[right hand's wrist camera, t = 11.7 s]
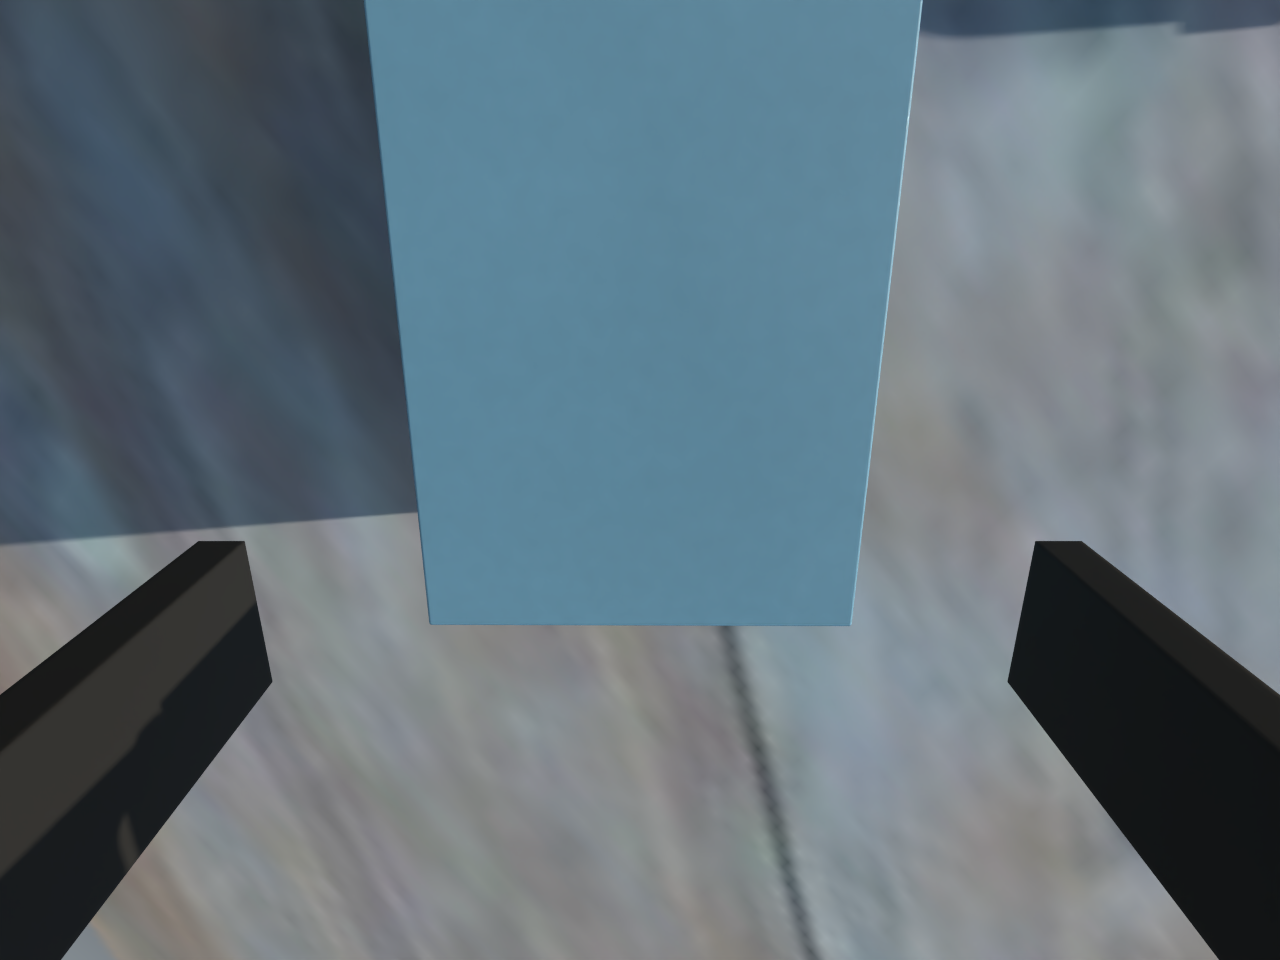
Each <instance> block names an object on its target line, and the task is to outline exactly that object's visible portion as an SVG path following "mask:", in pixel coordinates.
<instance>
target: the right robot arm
mask: <svg viewBox="0 0 1280 960" xmlns="http://www.w3.org/2000/svg"><path fill="white" fill-rule="evenodd" d="M271 683H272V677H271V672H270V667H269V662H268V657H267V652H266V647H265V642H264V637H263V632H262V627H261V622H260V617H259V611H258V606H257V601H256V596H255V591H254V586H253V581H252V576H251V571H250V566H249V561H248V556H247V551H246V546H245V541H198V542H197V543H195V544H194V545H193V546H192V547H190V548H189V549H188V550H186V551H185V552H184V553H183V554H181V555H180V556H179V557H177V558H176V559H175V560H174V561H172V562H171V563H170V564H168V565H167V566H166V567H165V568H163V569H162V570H161V571H159V572H158V573H157V574H156V575H154V576H153V577H152V578H150V579H149V580H148V581H146V582H145V583H144V584H143V585H141V586H140V587H139V588H137V589H136V590H135V591H134V592H132V593H131V594H130V595H128V596H127V597H126V598H125V599H123V600H122V601H121V602H119V603H118V604H117V605H116V606H114V607H113V608H112V609H110V610H109V611H108V612H107V613H105V614H104V615H103V616H101V617H100V618H99V619H97V620H96V621H95V622H94V623H92V624H91V625H90V626H88V627H87V628H86V629H85V630H83V631H82V632H81V633H79V634H78V635H77V636H76V637H74V638H73V639H72V640H70V641H69V642H68V643H67V644H65V645H64V646H63V647H61V648H60V649H59V650H58V651H56V652H55V653H54V654H52V655H51V656H50V657H48V658H47V659H46V660H45V661H43V662H42V663H41V664H39V665H38V666H37V667H36V668H34V669H33V670H32V671H30V672H29V673H28V674H27V675H25V676H24V677H23V678H21V679H20V680H19V681H18V682H16V683H15V684H14V685H12V686H11V687H10V688H9V689H7V690H6V691H5V692H3V693H2V694H1V695H0V960H61V959H62V958H63V956H64V955H65V954H66V952H67V951H68V950H69V948H70V947H71V946H72V944H73V943H74V942H75V941H76V939H77V938H78V937H79V935H80V934H81V933H82V931H83V930H84V929H85V927H86V926H87V925H88V923H89V922H90V921H91V919H92V918H93V917H94V916H95V914H96V913H97V912H98V910H99V909H100V908H101V906H102V905H103V904H104V902H105V901H106V900H107V898H108V897H109V896H110V895H111V893H112V892H113V891H114V889H115V888H116V887H117V885H118V884H119V883H120V881H121V880H122V879H123V877H124V876H125V875H126V874H127V872H128V871H129V870H130V868H131V867H132V866H133V864H134V863H135V862H136V860H137V859H138V858H139V856H140V855H141V854H142V852H143V851H144V850H145V849H146V847H147V846H148V845H149V843H150V842H151V841H152V839H153V838H154V837H155V835H156V834H157V833H158V831H159V830H160V829H161V828H162V826H163V825H164V824H165V822H166V821H167V820H168V818H169V817H170V816H171V814H172V813H173V812H174V810H175V809H176V808H177V806H178V805H179V804H180V803H181V801H182V800H183V799H184V797H185V796H186V795H187V793H188V792H189V791H190V789H191V788H192V787H193V785H194V784H195V783H196V782H197V780H198V779H199V778H200V776H201V775H202V774H203V772H204V771H205V770H206V768H207V767H208V766H209V764H210V763H211V762H212V760H213V759H214V758H215V757H216V755H217V754H218V753H219V751H220V750H221V749H222V747H223V746H224V745H225V743H226V742H227V741H228V739H229V738H230V737H231V736H232V734H233V733H234V732H235V730H236V729H237V728H238V726H239V725H240V724H241V722H242V721H243V720H244V718H245V717H246V716H247V715H248V713H249V712H250V711H251V709H252V708H253V707H254V705H255V704H256V703H257V701H258V700H259V699H260V697H261V696H262V695H263V693H264V692H265V691H266V690H267V688H268V687H269V686H270V684H271ZM1008 683H1009V684H1010V686H1011V687H1012V688H1013V690H1014V691H1015V692H1016V693H1017V695H1018V696H1019V697H1020V699H1021V700H1022V701H1023V703H1024V704H1025V705H1026V707H1027V708H1028V709H1029V711H1030V712H1031V713H1032V715H1033V716H1034V717H1035V718H1036V720H1037V721H1038V722H1039V724H1040V725H1041V726H1042V728H1043V729H1044V730H1045V732H1046V733H1047V734H1048V736H1049V737H1050V738H1051V739H1052V741H1053V742H1054V743H1055V745H1056V746H1057V747H1058V749H1059V750H1060V751H1061V753H1062V754H1063V755H1064V757H1065V758H1066V759H1067V760H1068V762H1069V763H1070V764H1071V766H1072V767H1073V768H1074V770H1075V771H1076V772H1077V774H1078V775H1079V776H1080V778H1081V779H1082V780H1083V782H1084V783H1085V784H1086V785H1087V787H1088V788H1089V789H1090V791H1091V792H1092V793H1093V795H1094V796H1095V797H1096V799H1097V800H1098V801H1099V803H1100V804H1101V805H1102V806H1103V808H1104V809H1105V810H1106V812H1107V813H1108V814H1109V816H1110V817H1111V818H1112V820H1113V821H1114V822H1115V824H1116V825H1117V826H1118V828H1119V829H1120V830H1121V831H1122V833H1123V834H1124V835H1125V837H1126V838H1127V839H1128V841H1129V842H1130V843H1131V845H1132V846H1133V847H1134V849H1135V850H1136V851H1137V852H1138V854H1139V855H1140V856H1141V858H1142V859H1143V860H1144V862H1145V863H1146V864H1147V866H1148V867H1149V868H1150V870H1151V871H1152V872H1153V874H1154V875H1155V876H1156V877H1157V879H1158V880H1159V881H1160V883H1161V884H1162V885H1163V887H1164V888H1165V889H1166V891H1167V892H1168V893H1169V895H1170V896H1171V897H1172V898H1173V900H1174V901H1175V902H1176V904H1177V905H1178V906H1179V908H1180V909H1181V910H1182V912H1183V913H1184V914H1185V916H1186V917H1187V918H1188V919H1189V921H1190V922H1191V923H1192V925H1193V926H1194V927H1195V929H1196V930H1197V931H1198V933H1199V934H1200V935H1201V937H1202V938H1203V939H1204V941H1205V942H1206V943H1207V944H1208V946H1209V947H1210V948H1211V950H1212V951H1213V952H1214V954H1215V955H1216V956H1217V958H1218V959H1219V960H1280V695H1279V694H1278V693H1277V692H1275V691H1274V690H1273V689H1271V688H1270V687H1269V686H1268V685H1266V684H1265V683H1264V682H1262V681H1261V680H1260V679H1259V678H1257V677H1256V676H1255V675H1253V674H1252V673H1251V672H1250V671H1248V670H1247V669H1246V668H1244V667H1243V666H1242V665H1241V664H1239V663H1238V662H1237V661H1235V660H1234V659H1233V658H1232V657H1230V656H1229V655H1228V654H1226V653H1225V652H1224V651H1222V650H1221V649H1220V648H1219V647H1217V646H1216V645H1215V644H1213V643H1212V642H1211V641H1210V640H1208V639H1207V638H1206V637H1204V636H1203V635H1202V634H1201V633H1199V632H1198V631H1197V630H1195V629H1194V628H1193V627H1192V626H1190V625H1189V624H1188V623H1186V622H1185V621H1184V620H1183V619H1181V618H1180V617H1179V616H1177V615H1176V614H1175V613H1173V612H1172V611H1171V610H1170V609H1168V608H1167V607H1166V606H1164V605H1163V604H1162V603H1161V602H1159V601H1158V600H1157V599H1155V598H1154V597H1153V596H1152V595H1150V594H1149V593H1148V592H1146V591H1145V590H1144V589H1143V588H1141V587H1140V586H1139V585H1137V584H1136V583H1135V582H1134V581H1132V580H1131V579H1130V578H1128V577H1127V576H1126V575H1124V574H1123V573H1122V572H1121V571H1119V570H1118V569H1117V568H1115V567H1114V566H1113V565H1112V564H1110V563H1109V562H1108V561H1106V560H1105V559H1104V558H1103V557H1101V556H1100V555H1099V554H1097V553H1096V552H1095V551H1094V550H1092V549H1091V548H1090V547H1088V546H1087V545H1086V544H1085V543H1083V542H1082V541H1035V546H1034V551H1033V556H1032V561H1031V566H1030V571H1029V576H1028V581H1027V586H1026V591H1025V596H1024V601H1023V606H1022V611H1021V617H1020V622H1019V627H1018V632H1017V637H1016V642H1015V647H1014V652H1013V657H1012V662H1011V667H1010V672H1009V677H1008Z"/></svg>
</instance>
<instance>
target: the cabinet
mask: <svg viewBox="0 0 1280 960" xmlns="http://www.w3.org/2000/svg"><path fill="white" fill-rule="evenodd" d="M922 2H923V0H364V9H365V18H366V27H367V37H368V46H369V56H370V65H371V75H372V84H373V94H374V103H375V113H376V122H377V132H378V141H379V151H380V160H381V169H382V179H383V188H384V198H385V207H386V217H387V226H388V236H389V245H390V255H391V264H392V274H393V283H394V292H395V302H396V311H397V321H398V330H399V340H400V349H401V359H402V368H403V378H404V387H405V397H406V406H407V415H408V425H409V434H410V444H411V453H412V463H413V472H414V482H415V491H416V501H417V510H418V520H419V529H420V538H421V548H422V557H423V567H424V576H425V586H426V595H427V605H428V614H429V623H430V624H431V625H710V626H851V623H852V615H853V606H854V597H855V589H856V580H857V571H858V562H859V554H860V545H861V536H862V527H863V519H864V510H865V501H866V492H867V484H868V475H869V466H870V457H871V449H872V440H873V431H874V422H875V414H876V405H877V396H878V387H879V379H880V370H881V361H882V352H883V344H884V335H885V326H886V317H887V309H888V300H889V291H890V282H891V274H892V265H893V256H894V247H895V239H896V230H897V221H898V212H899V204H900V195H901V186H902V177H903V169H904V160H905V151H906V142H907V134H908V125H909V116H910V107H911V99H912V90H913V81H914V72H915V63H916V55H917V46H918V37H919V28H920V20H921V11H922Z"/></svg>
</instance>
